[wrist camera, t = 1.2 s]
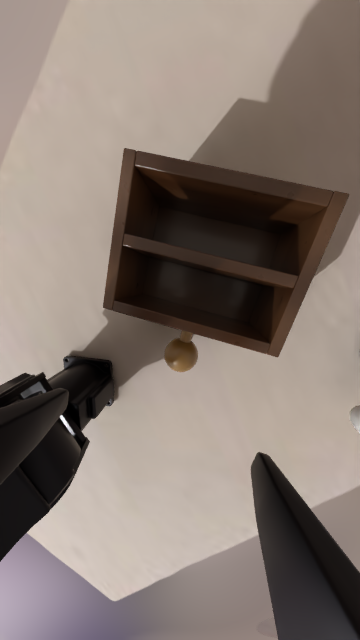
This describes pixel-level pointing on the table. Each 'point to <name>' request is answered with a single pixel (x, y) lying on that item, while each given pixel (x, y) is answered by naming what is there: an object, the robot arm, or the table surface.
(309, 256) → the shelf
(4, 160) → the table surface
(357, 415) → the toy rhinoceros
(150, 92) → the table surface
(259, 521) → the robot arm
